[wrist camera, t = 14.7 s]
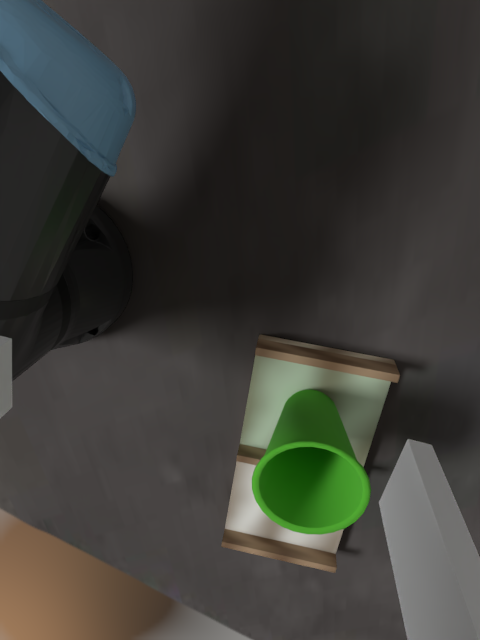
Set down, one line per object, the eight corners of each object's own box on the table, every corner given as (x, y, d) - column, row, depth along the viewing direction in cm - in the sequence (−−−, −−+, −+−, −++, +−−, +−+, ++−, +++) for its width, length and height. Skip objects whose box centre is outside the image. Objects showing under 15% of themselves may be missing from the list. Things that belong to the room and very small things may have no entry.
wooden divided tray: (225, 525, 52) (221, 546, 50) (259, 334, 42) (256, 347, 40) (333, 549, 51) (335, 572, 49) (393, 359, 41) (400, 375, 39)
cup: (367, 437, 43) (385, 525, 33) (281, 455, 46) (273, 543, 36) (341, 359, 41) (352, 430, 31) (251, 383, 43) (234, 456, 33)
